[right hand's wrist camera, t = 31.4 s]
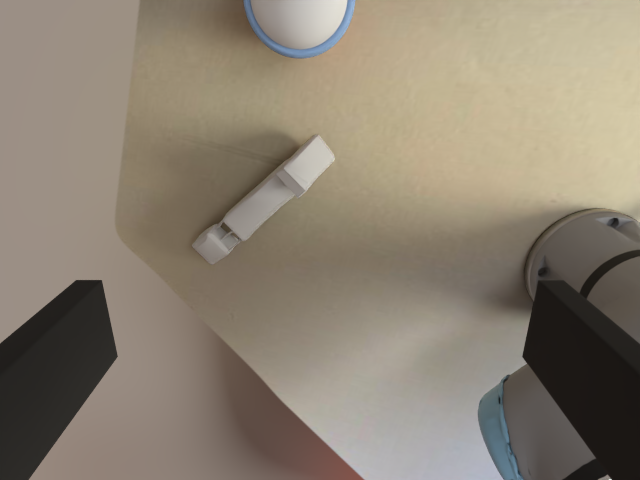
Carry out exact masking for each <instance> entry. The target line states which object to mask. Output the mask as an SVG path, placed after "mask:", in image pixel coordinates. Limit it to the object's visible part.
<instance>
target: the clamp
mask: <svg viewBox="0 0 640 480" xmlns="http://www.w3.org/2000/svg"><path fill="white" fill-rule="evenodd" d="M334 159H335V157H334V154H333V152H332V151H331V150H330V148H329V147H328V146H327V145H326V143H325V142H324V141H323V139H322V138H321V137H320V136H319V134H315V135H313V136H312V137H311V138H310V139H309V140H307V141H306V142H305V143H304V144H303V145H302V146H301V147H300V148H299V149H298V150H297V151H296V152H295V153H294V154H293V155H292V156H291V158H289V159H287V160H285V161H284V162H283V163H282V164H281V165H280V166H278V167H277V168H276V169H275V170H274V171H273V172H272V173H271V174H270V175H269V176H267V177H266V178H265V179H264V180H263V181H262V182H261V183H260V184H258V185H257V186H256V187H255V188H254V189H253V190H252V191H251V192H250V193H248V194H247V195H246V196H245V197H244V198H243V199H242V200H241V201H239V202H238V203H237V204H236V205H235V206H234V207H233V208H232V209H230V210H229V211H228V212H227V213H226V215H225V217H224V218H223V220H222V221H221V222H220V223H219V224H214V225H212V226H211V227H209V228H207V229H206V230H205V231H204V232H202V233H201V234H200V235H199V236H198V238H197V239H196V240H195V242H194V243H193V244H192V247H193V248H194V249H195V250H196V251H197V252H198V253H199V254H200V255H201V256H202V257H203V258H204V259H206V260H207V261H208V262H209V263H210V264H211V265H212V264H214V263H216V262H218V261H219V260H221V259H222V258H224V257H225V256H227V255H228V254H229V253H230V252H231V251H232V249H233V248H234V247H235V246H236V245H237V244H238V243H240V242H241V241H245V240H247V239H248V238H249V237H250V236H251V235H252V234H253V233H254V232H255V231H256V230H257V229H258V228H259V227H260V226H261V225H262V224H263V223H264V222H265V221H266V220H267V219H268V218H269V217H270V216H271V215H273V214H274V213H275V212H276V211H277V210H278V209H279V208H280V207H282V206H283V205H284V204H285V203H286V202H288V201H289V200H290V199H291V198H293V197H294V196H296V197H297V198H299V197H300V196H301V195H302V194H304V193H305V192H306V191H307V190H308V188H309V187H310V186H311V185H312V184H313V183H314V181H315V180H316V179H317V178H318V177H319V176H320V175H321V174H322V173H323V172H324V171H325V170H326V169H327V168H328V167H329V166H330V165H331V164H332V163H333V161H334ZM223 222H224V223H225V224H226V225H227V226H228V227H229V228H230V229H231V231H230V232H229V233H228V232H226V231H225V230H224V229H222V228H221V227H220V226H221V225H222V223H223ZM233 232H234V233H235V234H236V235H237V236H238V237H239V238H238V239H237V238H236V237H234V236H232V235H231V233H233ZM239 239H241V240H239ZM238 240H239V241H238Z"/></svg>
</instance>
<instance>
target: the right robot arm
mask: <svg viewBox="0 0 640 480" xmlns="http://www.w3.org/2000/svg"><path fill="white" fill-rule="evenodd" d="M525 284H526V288H527V291H528V293H529V295H530V297H531V298H532V300H533V301H534V303H533V308H532V313H531V318H530V322H529V327H528V332H527V337H526V342H525V346H524V351H523V356H522V357H523V358H524V360H525V361H526V362H527V364H526V365H525V366H523V367H522V368H520V369H519V370H517V371H516V372H514V373H513V374H511V375H507V376H505V377H504V378H503V379H502V380H501V382H500V383H499V384H498V385H497V386H496V387H494V388H493V389H492V390H490V391H489V392H488V393H486V394H485V395H484V396H483V397H482V399H481V400H480V403H479V408H478V421H479V426H480V430H481V433H482V436H483V439H484V442H485V444H486V447H487V449H488V451H489V453H490V456H491V458H492V460H493V462H494V464H495V466H496V468H497V469H498V471H499V473H500V475H501V476H502V478H503V479H504V480H640V223H639V222H638V221H637V220H635V219H633V218H632V217H629V216H627V215H625V214H623V213H620V212H617V211H614V210H609V209H589V210H584V211H580V212H577V213H574V214H571V215H569V216H567V217H565V218H563V219H561V220H559V221H558V222H556V223H555V224H553V225H552V226H551V227H550V228H548V229H547V230H546V231H545V232H544V233H543V234H542V235H541V236H540V238H539V239H538V240H537V241H536V243H535V244H534V246H533V248H532V249H531V251H530V253H529V256H528V258H527V262H526V266H525ZM117 357H118V356H117V351H116V346H115V342H114V337H113V332H112V327H111V323H110V318H109V313H108V308H107V303H106V298H105V294H104V289H103V284H102V280H76V281H75V282H74V283H72V284H71V285H70V286H69V287H68V288H66V289H65V290H64V291H63V292H62V293H60V294H59V295H58V296H57V297H56V298H54V299H53V300H52V301H51V302H50V303H48V304H47V305H46V306H45V307H44V308H42V309H41V310H40V311H39V312H38V313H36V314H35V315H34V316H33V317H32V318H30V319H29V320H28V321H27V322H26V323H24V324H23V325H22V326H21V327H20V328H18V329H17V330H16V331H15V332H14V333H12V334H11V335H10V336H9V337H8V338H6V339H5V340H4V341H3V342H2V343H0V480H29V478H30V477H31V476H32V474H33V473H34V471H35V470H36V469H37V467H38V466H39V464H40V463H41V462H42V460H43V459H44V458H45V456H46V455H47V453H48V452H49V451H50V449H51V448H52V447H53V445H54V444H55V442H56V441H57V440H58V438H59V437H60V435H61V434H62V433H63V431H64V430H65V429H66V427H67V426H68V424H69V423H70V422H71V420H72V419H73V418H74V416H75V415H76V413H77V412H78V411H79V409H80V408H81V406H82V405H83V404H84V402H85V401H86V400H87V398H88V397H89V395H90V394H91V393H92V391H93V390H94V389H95V387H96V386H97V384H98V383H99V382H100V380H101V379H102V377H103V376H104V375H105V373H106V372H107V371H108V369H109V368H110V366H111V365H112V364H113V362H114V361H115V360H116V358H117Z"/></svg>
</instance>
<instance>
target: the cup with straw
mask: <svg viewBox="0 0 640 480" xmlns="http://www.w3.org/2000/svg"><path fill="white" fill-rule="evenodd" d="M243 1H244V8H245V12H246V15H247V18H248V21H249V23H250V25H251V27H252V29H253V30H254V32H255V34H256V35H257V36H258V38H259V39H260V40H261V41H262V42H263V43H264V44H265V45H266V46H267V47H269V48H270V49H272V50H273V51H275V52H277V53H279V54H281V55H284V56H287V57H291V58H310V57H314V56H317V55H319V54H322V53H324V52H325V51H327V50H329V49H330V48H331V47H333V46H334V45H335V44H336V43H337V42H338V41H339V40H340V39H341V37H342V36H343V35H344V33H345V31H346V30H347V28H348V26H349V24H350V21H351V18H352V15H353V11H354V6H355V0H243Z"/></svg>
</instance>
